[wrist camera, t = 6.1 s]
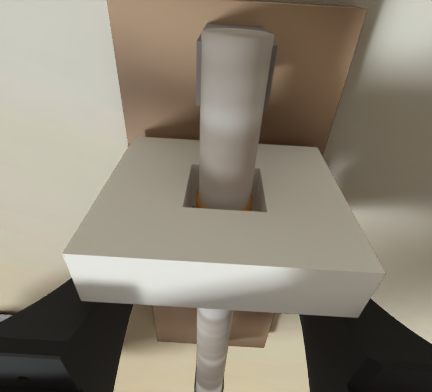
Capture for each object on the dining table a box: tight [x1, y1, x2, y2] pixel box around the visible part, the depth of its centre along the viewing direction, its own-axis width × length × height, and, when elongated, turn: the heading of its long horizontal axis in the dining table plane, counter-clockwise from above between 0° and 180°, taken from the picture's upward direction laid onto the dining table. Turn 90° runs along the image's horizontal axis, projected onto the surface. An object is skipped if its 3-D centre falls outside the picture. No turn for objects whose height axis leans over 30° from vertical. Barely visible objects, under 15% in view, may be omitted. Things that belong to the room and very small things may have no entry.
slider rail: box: [107, 0, 367, 392], centre depth 16 cm, size 24×9×6 cm, turn 177°
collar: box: [62, 136, 386, 318], centre depth 10 cm, size 2×8×7 cm, turn 87°
